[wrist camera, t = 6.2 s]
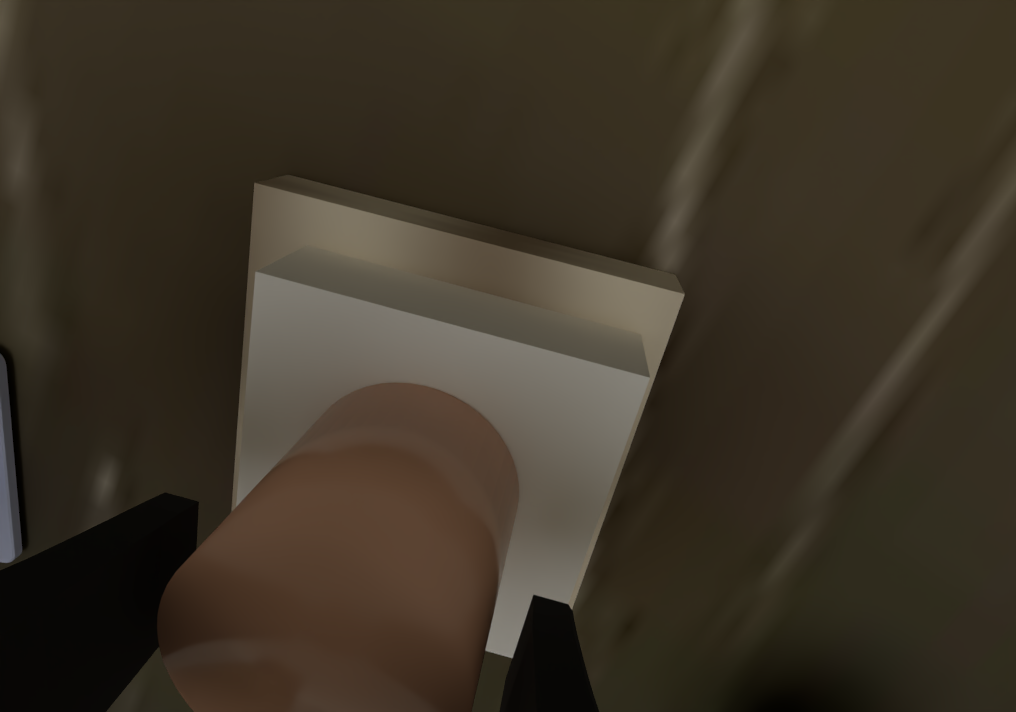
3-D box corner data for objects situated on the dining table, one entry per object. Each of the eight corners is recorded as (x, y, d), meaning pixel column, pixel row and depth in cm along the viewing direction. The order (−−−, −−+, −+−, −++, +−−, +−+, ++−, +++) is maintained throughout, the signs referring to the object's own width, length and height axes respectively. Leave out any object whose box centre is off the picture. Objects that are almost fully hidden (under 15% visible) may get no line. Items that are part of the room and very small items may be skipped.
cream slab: (276, 517, 18) (230, 578, 16) (307, 245, 15) (255, 272, 12) (550, 593, 18) (545, 667, 15) (640, 334, 15) (650, 377, 12)
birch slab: (270, 482, 21) (230, 530, 18) (300, 171, 17) (254, 182, 14) (569, 563, 20) (567, 622, 18) (671, 267, 16) (684, 294, 14)
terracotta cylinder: (299, 543, 15) (161, 738, 10) (312, 359, 13) (151, 496, 8) (497, 594, 15) (446, 819, 10) (540, 413, 13) (500, 585, 8)
